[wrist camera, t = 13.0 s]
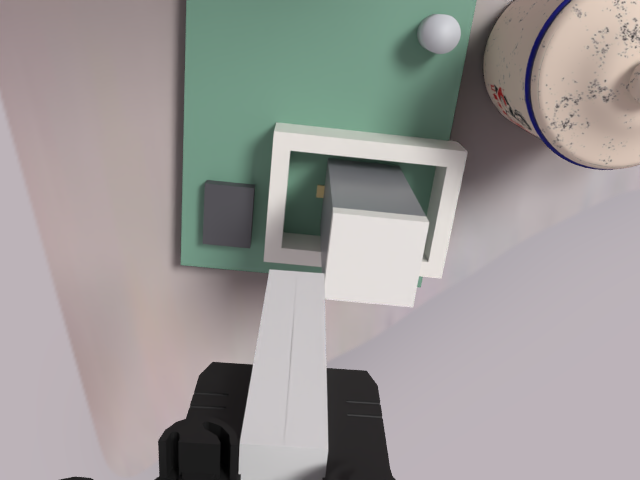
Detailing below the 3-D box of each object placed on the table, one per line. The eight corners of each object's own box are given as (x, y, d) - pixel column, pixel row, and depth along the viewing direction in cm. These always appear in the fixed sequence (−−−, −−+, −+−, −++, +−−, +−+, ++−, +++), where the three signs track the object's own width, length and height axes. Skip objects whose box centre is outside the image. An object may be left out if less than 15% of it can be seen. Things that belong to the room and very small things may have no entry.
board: (191, -35, 33) (179, -39, 30) (471, -1, 33) (486, -2, 30) (184, 257, 39) (174, 278, 36) (417, 279, 40) (425, 301, 37)
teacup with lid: (452, 106, 36) (514, 150, 25) (519, -50, 32) (622, -77, 22) (623, 167, 37) (750, 234, 26) (702, 25, 34) (884, 35, 23)
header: (276, 122, 35) (273, 131, 32) (457, 141, 35) (467, 151, 33) (266, 245, 38) (263, 261, 35) (433, 261, 38) (441, 278, 36)
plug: (328, 158, 35) (333, 212, 26) (399, 165, 36) (429, 222, 26) (319, 230, 37) (321, 305, 28) (387, 237, 37) (411, 313, 28)
